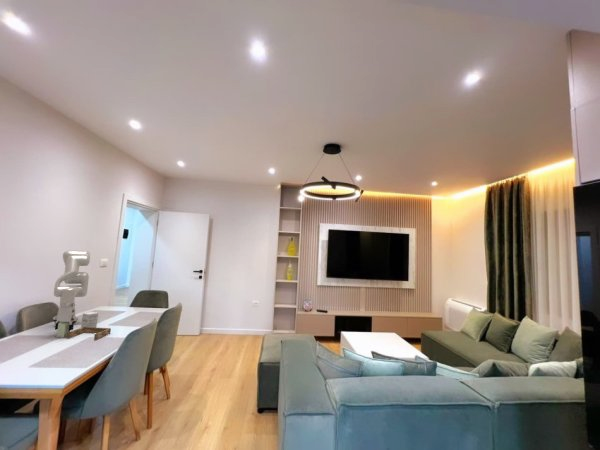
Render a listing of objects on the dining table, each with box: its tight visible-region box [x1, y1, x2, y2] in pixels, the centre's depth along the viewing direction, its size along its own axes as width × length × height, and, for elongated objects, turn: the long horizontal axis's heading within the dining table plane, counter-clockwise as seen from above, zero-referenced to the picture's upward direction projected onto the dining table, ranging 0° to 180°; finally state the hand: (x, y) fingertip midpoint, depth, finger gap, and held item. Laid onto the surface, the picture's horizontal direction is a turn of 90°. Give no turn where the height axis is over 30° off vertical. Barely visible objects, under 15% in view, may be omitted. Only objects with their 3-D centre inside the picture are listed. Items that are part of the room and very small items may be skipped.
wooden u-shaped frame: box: [66, 327, 112, 341], centre depth 201 cm, size 15×20×4 cm
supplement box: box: [80, 311, 99, 328], centre depth 217 cm, size 7×7×13 cm
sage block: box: [56, 322, 71, 337], centre depth 198 cm, size 5×5×9 cm
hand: (64, 329), depth 198 cm, fingers open, 9 cm apart
